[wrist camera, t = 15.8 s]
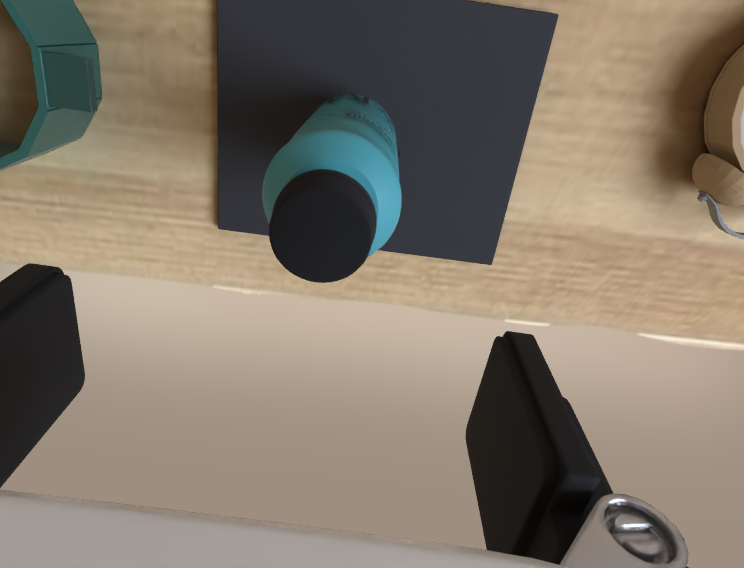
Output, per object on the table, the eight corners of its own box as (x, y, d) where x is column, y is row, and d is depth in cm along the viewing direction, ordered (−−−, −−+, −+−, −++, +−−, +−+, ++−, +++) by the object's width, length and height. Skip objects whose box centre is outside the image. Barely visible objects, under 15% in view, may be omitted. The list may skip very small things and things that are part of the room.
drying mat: (219, -38, 32) (216, -39, 31) (556, 14, 33) (559, 14, 32) (220, 226, 40) (218, 229, 40) (490, 262, 41) (491, 265, 40)
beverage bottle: (378, 192, 38) (375, 339, 20) (294, 161, 37) (213, 286, 19) (411, 107, 35) (442, 190, 17) (321, 72, 34) (255, 121, 16)
